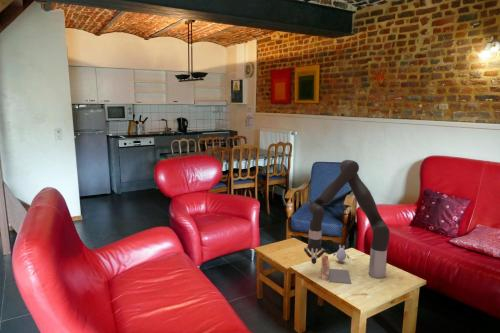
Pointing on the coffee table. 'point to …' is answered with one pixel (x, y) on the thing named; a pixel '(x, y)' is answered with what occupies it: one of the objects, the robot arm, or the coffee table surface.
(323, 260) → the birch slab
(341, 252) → the toy figure
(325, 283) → the coffee table surface
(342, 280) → the felt mat
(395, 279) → the coffee table surface
